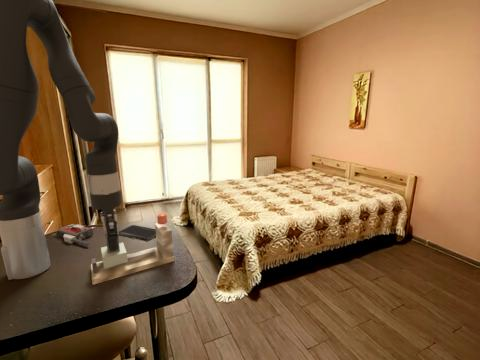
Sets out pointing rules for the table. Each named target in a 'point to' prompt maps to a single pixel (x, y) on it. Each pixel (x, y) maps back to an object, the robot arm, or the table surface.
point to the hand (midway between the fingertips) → (113, 247)
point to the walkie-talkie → (75, 233)
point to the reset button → (162, 218)
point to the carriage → (113, 254)
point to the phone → (138, 232)
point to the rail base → (129, 267)
